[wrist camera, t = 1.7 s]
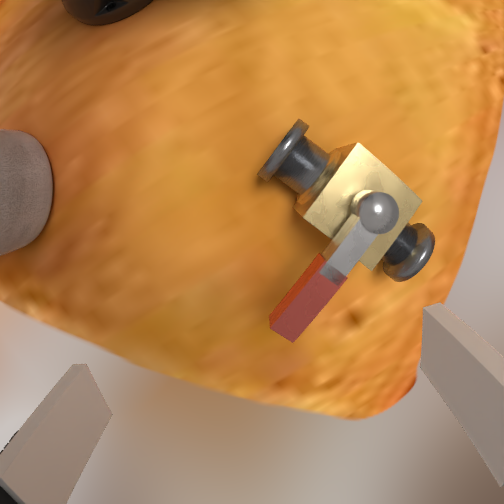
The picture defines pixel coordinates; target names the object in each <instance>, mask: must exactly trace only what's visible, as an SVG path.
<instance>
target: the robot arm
mask: <svg viewBox="0 0 504 504" xmlns="http://www.w3.org/2000/svg"><path fill="white" fill-rule="evenodd" d="M151 1H152V0H62V2H63V4H64V7H65V9H66V10H67V11H68V13H69V14H70V15H72V16H73V17H74V18H76V19H77V20H79V21H80V22H82V23H85V24H89V25H104V24H109V23H113V22H116V21H119V20H122V19H124V18H126V17H128V16H130V15H132V14H134V13H136V12H138V11H139V10H141V9H142V8H144V7H145V6H146V5H148V4H149V3H150V2H151ZM420 368H421V370H422V371H423V372H424V374H425V375H426V376H427V378H428V379H429V380H430V382H431V383H432V385H433V386H434V387H435V389H436V390H437V392H438V393H439V394H440V396H441V397H442V399H443V400H444V402H445V403H446V404H447V406H448V407H449V409H450V410H451V411H452V413H453V414H454V416H455V417H456V418H457V420H458V422H459V423H460V425H461V426H462V428H463V429H464V431H465V432H466V434H467V435H468V437H469V438H470V440H471V441H472V443H473V444H474V446H475V447H476V449H477V451H478V452H479V454H480V455H481V457H482V458H483V460H484V461H485V463H486V465H487V466H488V468H489V470H490V471H491V473H492V474H493V476H494V478H495V479H496V481H497V483H498V484H499V486H500V487H502V486H503V485H504V357H503V356H502V355H501V354H500V353H499V352H498V351H497V350H495V349H494V348H493V347H492V346H491V345H490V344H489V343H487V342H486V341H485V340H484V339H483V338H482V337H481V336H480V335H478V334H477V333H476V332H475V331H474V330H473V329H471V328H470V327H469V326H468V325H467V324H465V323H464V322H463V321H462V320H461V319H459V318H458V317H457V316H456V315H455V314H454V313H452V312H451V311H450V310H449V309H447V308H446V307H445V306H444V305H443V304H441V303H437V304H433V305H430V306H427V307H423V330H422V350H421V364H420ZM112 415H113V414H112V412H111V410H110V409H109V407H108V405H107V403H106V402H105V399H104V398H103V396H102V394H101V392H100V390H99V388H98V386H97V384H96V382H95V380H94V378H93V376H92V374H91V373H90V370H89V368H88V366H87V364H74V365H72V366H71V367H70V369H69V370H68V371H67V372H66V374H65V375H64V376H63V377H62V378H61V379H60V380H59V382H58V383H57V384H56V385H55V386H54V388H53V389H52V390H51V391H50V392H49V394H48V395H47V396H46V397H45V398H44V400H43V401H42V402H41V403H40V405H39V406H38V407H37V408H36V410H35V411H34V412H33V413H32V414H31V416H30V417H29V418H28V419H27V421H26V422H25V423H24V424H23V426H22V427H21V428H20V430H18V431H17V432H16V433H15V434H14V436H13V437H12V438H11V439H10V441H9V443H7V445H6V446H5V447H4V450H2V451H1V452H0V504H66V503H67V501H68V499H69V497H70V495H71V493H72V491H73V489H74V487H75V485H76V483H77V481H78V479H79V477H80V475H81V473H82V471H83V469H84V467H85V466H86V464H87V462H88V460H89V458H90V456H91V454H92V452H93V450H94V448H95V447H96V445H97V443H98V441H99V439H100V437H101V435H102V433H103V431H104V430H105V428H106V426H107V424H108V422H109V420H110V419H111V417H112Z"/></svg>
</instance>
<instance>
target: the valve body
mask: <svg viewBox="0 0 504 504" xmlns="http://www.w3.org/2000/svg"><path fill="white" fill-rule="evenodd" d="M308 128H309V125H307V124H306V123H304V122H303V121H302V120H300V119H298V120H297V122H296V123H295V124H294V125H293V127H292V128H291V129H290V131H289V132H288V133H287V135H286V136H285V137H284V139H283V140H282V141H281V143H280V144H279V145H278V147H277V148H276V149H275V151H274V152H273V154H272V155H271V156H270V158H269V159H268V160H267V162H266V163H265V164H264V166H263V167H262V168H261V170H260V171H259V173H258V174H257V175H258V176H259V177H261V178H262V179H264V180H265V181H266V182H268V181H269V180H270V179H271V178H272V176H273V175H274V176H275V177H277V178H278V179H279V180H281V181H282V182H284V183H285V184H286V185H288V186H289V187H290V188H292V189H293V190H294V191H296V192H297V193H298V197H297V202H296V203H295V205H294V206H293V208H294V209H295V210H296V211H297V212H298V213H299V214H300V215H301V216H302V217H303V218H304V219H305V220H307V221H308V222H309V223H311V224H312V225H313V226H315V227H316V228H317V229H319V230H320V231H321V232H322V233H324V234H325V235H326V236H328V237H329V238H330V239H333V238H334V237H335V235H336V234H337V233H338V231H339V230H340V229H341V227H342V226H343V225H344V223H345V222H346V221H347V219H348V218H349V217H350V215H351V212H350V206H351V202H352V200H353V198H354V197H355V195H356V194H358V193H359V192H361V191H363V190H373V191H378V192H383V193H387V194H389V195H390V196H392V197H393V198H394V199H395V201H396V202H397V205H398V208H399V218H398V221H397V223H396V225H395V226H394V228H393V229H392V230H390V231H389V232H387V233H385V234H378V235H377V237H376V238H375V239H374V241H373V242H372V243H371V245H370V246H369V247H368V249H367V250H366V251H365V253H364V254H363V255H362V257H361V258H360V259H359V260H358V261H360V262H361V263H362V264H363V265H365V266H366V267H367V268H368V269H370V270H371V271H372V270H373V269H374V267H375V266H376V265H377V264H378V262H379V261H380V260H381V259H382V260H383V270H384V272H385V273H386V274H387V275H388V276H389V277H390V278H392V279H393V280H394V281H397V282H402V281H406V280H408V279H410V278H412V277H413V276H415V275H416V274H417V273H418V272H419V271H420V270H421V269H422V268H423V267H424V266H425V264H426V263H427V262H428V260H429V258H430V257H431V254H432V252H433V249H434V245H435V237H434V234H433V233H432V232H431V231H430V230H429V229H428V228H427V227H426V226H425V225H424V224H422V223H417V224H413V225H410V224H409V223H408V221H409V220H410V219H411V217H412V216H413V214H414V213H415V211H416V210H417V208H418V207H419V206H420V204H421V203H422V200H421V199H420V198H419V197H418V196H417V195H416V194H415V193H414V192H413V191H412V190H411V189H410V188H409V187H408V186H407V185H406V184H405V183H403V182H402V181H401V180H400V179H399V178H398V177H397V176H396V175H395V174H394V173H393V172H392V171H390V170H389V169H388V168H387V167H386V166H385V165H384V164H383V163H382V162H380V161H379V160H378V159H377V158H376V157H375V156H374V155H372V154H371V153H370V152H369V151H368V150H366V149H365V148H364V147H363V146H362V145H361V144H359V143H354V144H350V145H347V146H343V147H340V148H336V149H335V150H333V151H332V152H330V153H329V154H328V153H326V152H325V151H324V150H322V149H321V148H320V147H319V146H317V145H316V144H315V143H313V142H312V141H311V140H309V139H308V138H307V137H305V136H304V134H305V132H306V131H307V129H308Z"/></svg>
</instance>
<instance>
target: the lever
mask: <svg viewBox="0 0 504 504" xmlns="http://www.w3.org/2000/svg"><path fill="white" fill-rule="evenodd" d="M350 212H351V215H350V217H349V218H348V219H347V221H346V222H345V223H344V225H343V226H342V227H341V229H340V230H339V231H338V233H337V234H336V235H335V237H334V238H333V239H332V241H331V242H330V243H329V245H328V246H327V247H326V248H325V250H324V251H323V252H322V254H320V253H319V254H318V255H317V256H316V258H315V259H314V260H313V262H312V263H311V264H310V265H309V267H308V268H307V269H306V271H305V272H304V273H303V274H302V276H301V277H300V278H299V279H298V281H297V282H296V283H295V284H294V286H293V287H292V288H291V289H290V291H289V292H288V293H287V294H286V296H285V297H284V298H283V299H282V301H281V302H280V303H279V304H278V306H277V307H276V308H275V309H274V310H273V312H272V313H271V314H270V315H269V320H270V329H272V330H273V331H275V332H277V333H278V334H280V335H281V336H283V337H285V338H286V339H288V340H289V341H291V342H294V341H295V340H296V339H297V338H298V337H299V336H300V334H301V333H302V332H303V331H304V330H305V329H306V328H307V326H308V325H309V324H310V323H311V322H312V321H313V319H314V318H315V317H316V316H317V315H318V314H319V312H320V311H321V310H322V309H323V308H324V306H325V305H326V304H327V303H328V302H329V300H330V299H331V298H332V297H333V296H334V294H335V293H336V292H337V291H338V289H339V288H340V287H341V286H342V284H343V283H344V282H345V281H346V279H347V275H348V273H349V272H350V271H351V269H352V268H353V267H354V266H355V264H356V263H357V262H358V260H359V259H360V258H361V257H362V255H363V254H364V253H365V251H366V250H367V249H368V247H369V246H370V245H371V243H372V242H373V241H374V239H375V238H376V237H377V235H378V234H385V233H387V232H389V231H390V230H392V229H393V228H394V226H395V225H396V223H397V221H398V218H399V208H398V205H397V202H396V201H395V199H394V198H393V197H392V196H390V195H389V194H387V193H383V192H378V191H373V190H363V191H361V192H359V193H358V194H356V195H355V197H354V198H353V200H352V202H351V206H350Z"/></svg>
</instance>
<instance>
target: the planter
mask: <svg viewBox="0 0 504 504" xmlns="http://www.w3.org/2000/svg"><path fill="white" fill-rule="evenodd" d="M52 193H53V182H52V173H51V168H50V163H49V160H48V157H47V155H46V153H45V151H44V149H43V147H42V145H41V144H40V143H39V142H38V140H37V139H36V138H34V137H33V136H32V135H30V134H28V133H26V132H23V131H19V130H8V129H0V256H1V255H4V254H7V253H9V252H12V251H14V250H17V249H19V248H22V247H24V246H26V245H27V244H29V243H31V242H32V241H33V240H34V239H35V238H36V237H37V236H38V235H39V234H40V232H41V231H42V229H43V227H44V225H45V223H46V221H47V218H48V216H49V212H50V208H51V203H52Z"/></svg>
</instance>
